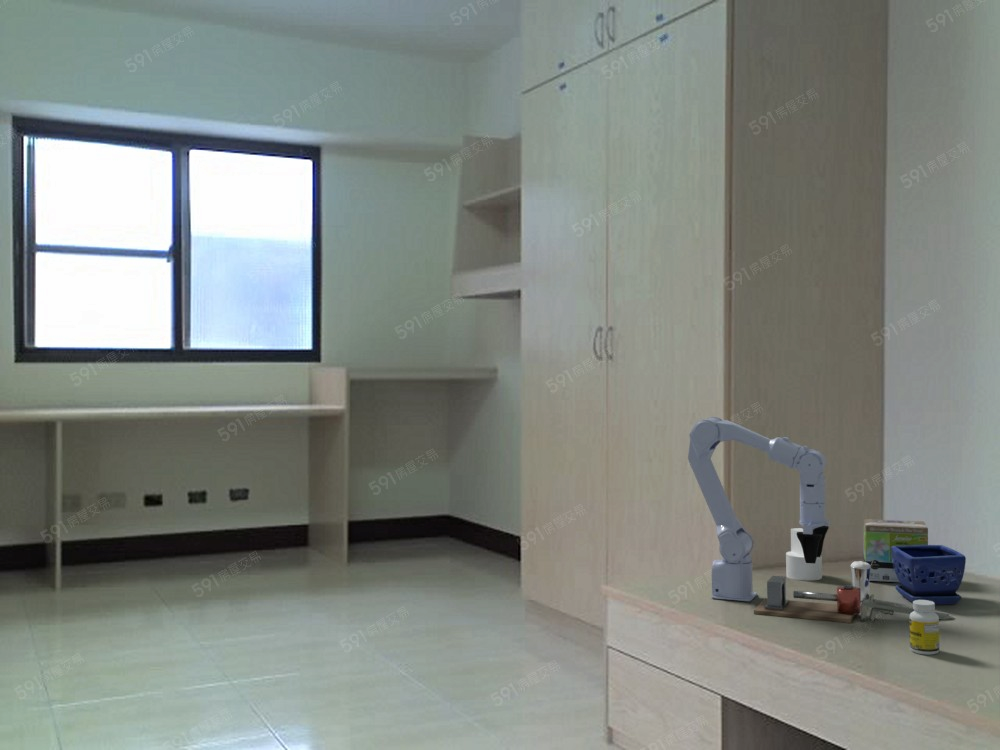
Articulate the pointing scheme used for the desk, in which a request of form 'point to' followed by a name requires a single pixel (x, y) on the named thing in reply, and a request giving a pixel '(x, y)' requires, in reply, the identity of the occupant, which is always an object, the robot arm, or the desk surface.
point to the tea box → (889, 544)
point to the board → (807, 611)
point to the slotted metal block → (776, 593)
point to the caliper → (889, 608)
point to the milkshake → (861, 576)
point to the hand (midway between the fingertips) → (813, 559)
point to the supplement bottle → (924, 628)
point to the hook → (837, 598)
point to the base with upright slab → (801, 561)
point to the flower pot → (928, 572)
